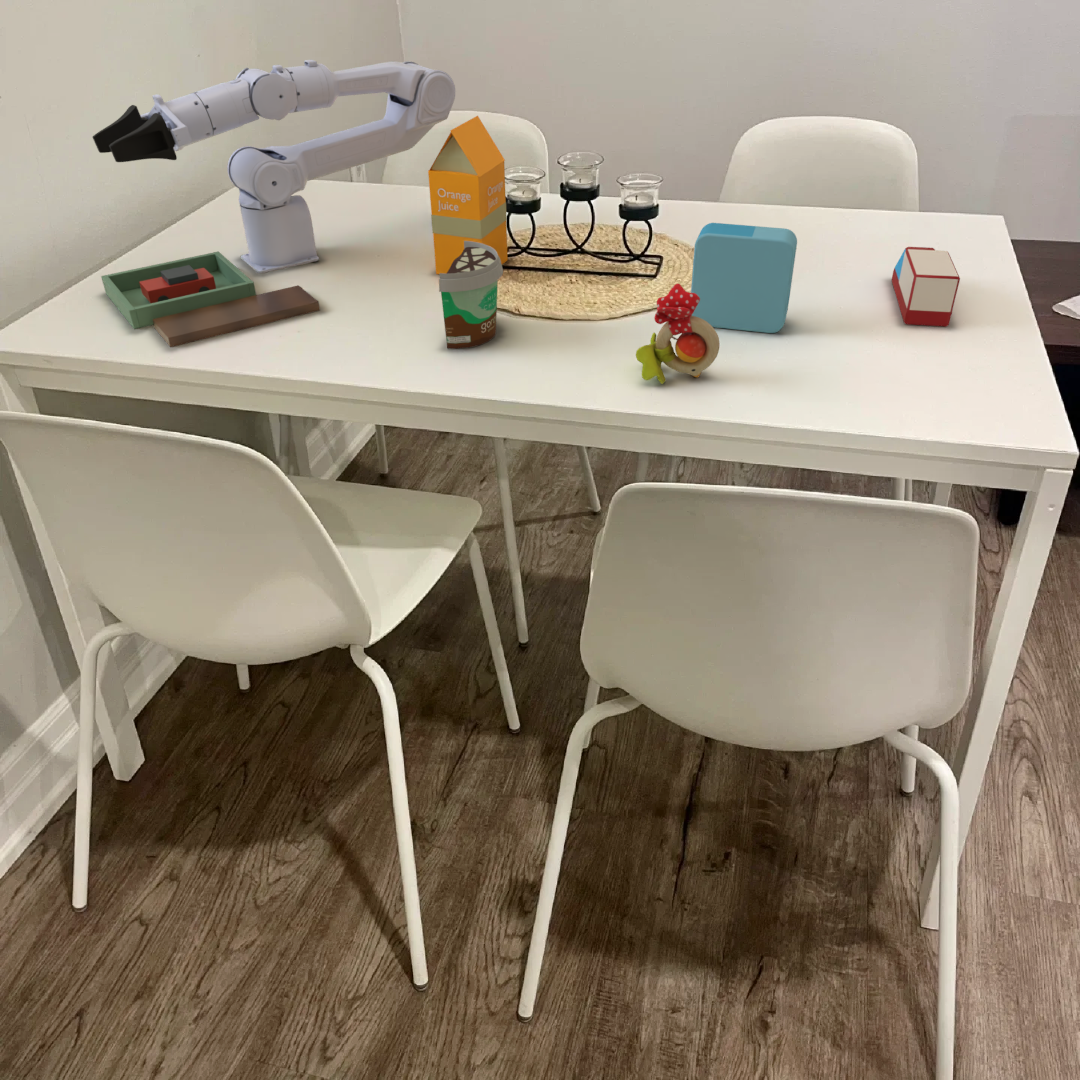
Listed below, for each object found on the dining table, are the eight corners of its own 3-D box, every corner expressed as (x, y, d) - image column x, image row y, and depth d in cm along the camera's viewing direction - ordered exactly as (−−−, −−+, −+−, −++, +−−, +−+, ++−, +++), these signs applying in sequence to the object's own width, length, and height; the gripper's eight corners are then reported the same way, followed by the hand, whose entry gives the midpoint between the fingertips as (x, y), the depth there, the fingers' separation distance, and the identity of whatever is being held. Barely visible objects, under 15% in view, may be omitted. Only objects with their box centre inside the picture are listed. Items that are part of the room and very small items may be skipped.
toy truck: (931, 283, 139) (942, 236, 135) (948, 327, 127) (960, 277, 123) (890, 281, 139) (900, 234, 135) (903, 325, 127) (914, 275, 124)
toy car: (207, 284, 141) (202, 260, 139) (217, 294, 138) (212, 270, 136) (143, 298, 137) (137, 274, 135) (152, 309, 134) (146, 284, 132)
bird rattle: (693, 379, 120) (626, 349, 119) (740, 301, 114) (669, 268, 113) (693, 404, 115) (623, 373, 114) (742, 324, 109) (667, 290, 108)
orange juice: (435, 274, 144) (423, 128, 132) (461, 253, 151) (452, 113, 139) (484, 281, 142) (477, 133, 130) (509, 259, 148) (504, 117, 136)
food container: (492, 357, 122) (488, 278, 116) (443, 353, 123) (437, 275, 117) (514, 316, 131) (512, 241, 125) (469, 313, 132) (465, 239, 126)
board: (300, 295, 138) (298, 285, 137) (320, 312, 133) (318, 301, 133) (155, 329, 129) (152, 319, 129) (171, 349, 125) (168, 338, 124)
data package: (786, 321, 129) (799, 229, 122) (782, 335, 125) (795, 241, 118) (693, 311, 132) (701, 221, 125) (688, 325, 128) (695, 232, 121)
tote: (222, 269, 146) (218, 251, 145) (257, 301, 137) (253, 282, 135) (106, 295, 139) (100, 275, 138) (134, 331, 129) (129, 310, 128)
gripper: (172, 77, 136) (75, 109, 131) (209, 90, 126) (106, 125, 121) (192, 130, 140) (99, 163, 135) (230, 146, 130) (131, 182, 125)
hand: (104, 149), depth 128 cm, fingers open, 7 cm apart
